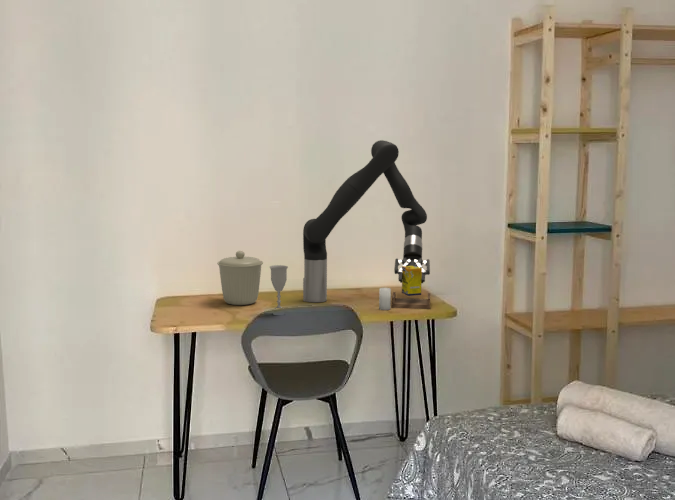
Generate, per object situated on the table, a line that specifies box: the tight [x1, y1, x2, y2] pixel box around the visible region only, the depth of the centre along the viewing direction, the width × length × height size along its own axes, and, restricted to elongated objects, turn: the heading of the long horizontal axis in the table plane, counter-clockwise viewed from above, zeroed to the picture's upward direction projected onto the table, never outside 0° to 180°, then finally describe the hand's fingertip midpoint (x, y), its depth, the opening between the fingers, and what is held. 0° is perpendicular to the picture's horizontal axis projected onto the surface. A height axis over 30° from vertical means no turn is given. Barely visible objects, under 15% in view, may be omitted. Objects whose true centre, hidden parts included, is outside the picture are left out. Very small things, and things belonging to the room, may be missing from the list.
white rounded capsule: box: [378, 287, 392, 311], centre depth 295 cm, size 4×4×8 cm
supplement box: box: [401, 265, 422, 297], centre depth 301 cm, size 6×6×11 cm
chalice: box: [269, 264, 289, 309], centre depth 285 cm, size 7×7×18 cm
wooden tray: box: [391, 291, 431, 310], centre depth 302 cm, size 15×11×4 cm
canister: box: [217, 250, 264, 306], centre depth 303 cm, size 18×18×21 cm
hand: (411, 281), depth 300 cm, fingers closed on supplement box, 8 cm apart
